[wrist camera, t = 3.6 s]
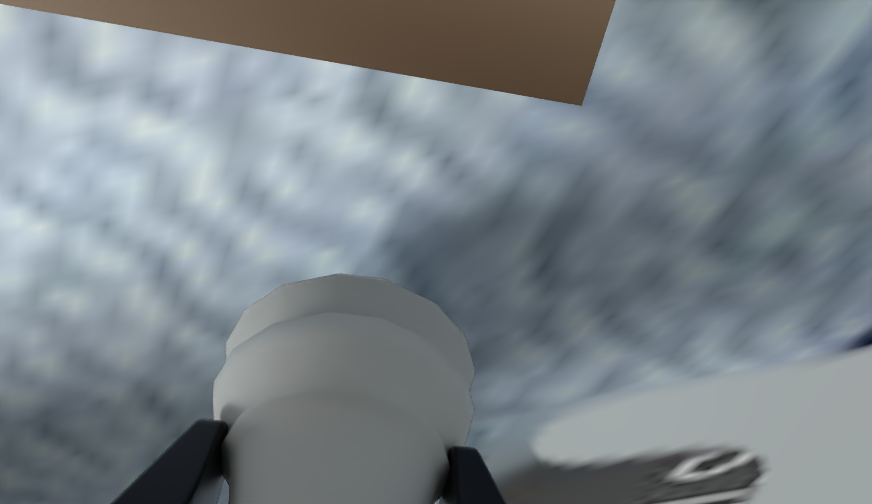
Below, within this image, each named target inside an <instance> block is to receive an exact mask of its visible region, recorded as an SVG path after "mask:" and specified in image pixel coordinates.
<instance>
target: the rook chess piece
mask: <svg viewBox="0 0 872 504" xmlns="http://www.w3.org/2000/svg"><path fill="white" fill-rule="evenodd" d="M474 374H475V369H474V365H473V362H472V358H471V354H470V351H469V347H468V343H467V339H466V336H465V335H464V334H463V333H462V332H461V330H460V329H459V328H458V327H457V326H456V325H455V324H454V323H453V322H452V321H451V319H450V318H449V317H448V316H447V315H446V314H445V313H444V312H443V311H442V310H441V308H440V307H439V306H438V305H437V304H436V303H434V302H432V301H430V300H428V299H426V298H424V297H422V296H419V295H417V294H415V293H413V292H411V291H409V290H407V289H405V288H403V287H401V286H399V285H397V284H395V283H393V282H391V281H388V280H386V279H380V278H372V277H364V276H357V275H349V274H334V275H329V276H324V277H319V278H314V279H309V280H304V281H299V282H294V283H289V284H284V285H282V286H280V287H279V288H277V289H276V290H274V291H273V292H271V293H270V294H268V295H267V296H265V297H264V298H262V299H260V300H259V301H257V302H256V303H254V304H253V305H251V306H250V307H248V308H247V309H245V310H244V312H243V314H242V315H241V317H240V319H239V321H238V323H237V324H236V326H235V328H234V330H233V331H232V333H231V335H230V337H229V338H228V340H227V342H226V362H225V363H224V365H223V367H222V369H221V370H220V372H219V374H218V376H217V377H216V379H215V381H214V389H213V411H214V420H222V421H225V422H226V424H227V426H228V434H227V436H226V437H225V439H224V441H223V442H222V444H221V464H222V476H223V477H224V479H225V480H226V481H227V483H228V484H229V503H228V504H434V503H435V502H436V501H437V500H438V499H439V498H440V497H441V496H442V494H443V491H444V488H445V484H446V481H447V478H448V474H449V471H450V464H449V461H448V458H447V457H448V453H449V450H450V449H451V447H452V446H465V443H466V439H467V436H468V433H469V429H470V425H471V422H472V418H473V414H474V410H475V409H474V406H473V402H472V399H471V395H470V389H471V385H472V382H473V378H474Z"/></svg>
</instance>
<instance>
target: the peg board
mask: <svg viewBox="0 0 872 504" xmlns="http://www.w3.org/2000/svg"><path fill="white" fill-rule="evenodd" d="M0 4H4V5H10V6H16V7H21V8H27V9H33V10H38V11H44V12H50V13H56V14H61V15H67V16H73V17H78V18H84V19H90V20H95V21H101V22H107V23H113V24H118V25H124V26H130V27H135V28H141V29H147V30H152V31H158V32H164V33H170V34H175V35H181V36H187V37H192V38H198V39H204V40H209V41H215V42H221V43H227V44H232V45H238V46H244V47H249V48H255V49H261V50H266V51H272V52H278V53H284V54H289V55H295V56H301V57H306V58H312V59H318V60H323V61H329V62H335V63H341V64H346V65H352V66H358V67H363V68H369V69H375V70H380V71H386V72H392V73H397V74H403V75H409V76H415V77H420V78H426V79H432V80H437V81H443V82H449V83H454V84H460V85H466V86H472V87H477V88H483V89H489V90H494V91H500V92H506V93H511V94H517V95H523V96H529V97H534V98H540V99H546V100H551V101H557V102H563V103H568V104H574V105H580V106H582V103H583V100H584V97H585V93H586V90H587V87H588V84H589V81H590V78H591V75H592V72H593V69H594V66H595V62H596V59H597V56H598V53H599V50H600V47H601V44H602V41H603V38H604V35H605V31H606V28H607V25H608V22H609V19H610V16H611V13H612V10H613V7H614V4H615V0H0Z"/></svg>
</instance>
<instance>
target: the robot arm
mask: <svg viewBox="0 0 872 504" xmlns="http://www.w3.org/2000/svg"><path fill="white" fill-rule="evenodd" d="M227 434H228V426H227V424H226V422H225V421H222V420H213V419H199V420H197V421H196V422H195V423H194V424H193V425H191V426H190V427H189V428H188V429H187V430H186V431H185V432H184V433H183V434H182V435H181V436H180V437H179V438H178V439H177V440H176V441H175V442H174V443H173V444H172V445H171V446H170V447H169V448H168V449H167V450H166V451H165V452H164V453H163V454H162V455H161V456H160V457H158V458H157V459H156V460H155V461H154V462H153V463H152V464H151V465H150V466H149V467H148V468H147V469H146V470H145V471H144V472H143V473H142V474H141V475H140V476H139V477H138V478H137V479H136V480H135V481H134V482H133V483H132V484H131V485H130V486H129V487H128V488H127V489H125V490H124V491H123V492H122V493H121V494H120V495H119V496H118V497H117V498H116V499H115V500H114V501H113V502H112V503H111V504H217V503H218V499H219V495H220V491H221V487H222V484H223V480H224V477H223V476H222V464H221V444H222V442H223V441H224V439H225V437H226V436H227ZM447 458H448V461H449V464H450V471H449V474H448V478H447V481H446V484H445V488H444V491H443V494H442V496H441V497H440V498H439V504H507V503H506V501H505V499H504V498H503V496H502V494H501V492H500V490H499V488H498V486H497V485H496V483H495V481H494V479H493V477H492V475H491V474H490V472H489V470H488V468H487V466H486V464H485V462H484V461H483V459H482V457H481V455H480V453H479V452H478V450H476V449H475V448H472V447H464V446H452V447H451V449H450V450H449V453H448V457H447Z"/></svg>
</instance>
